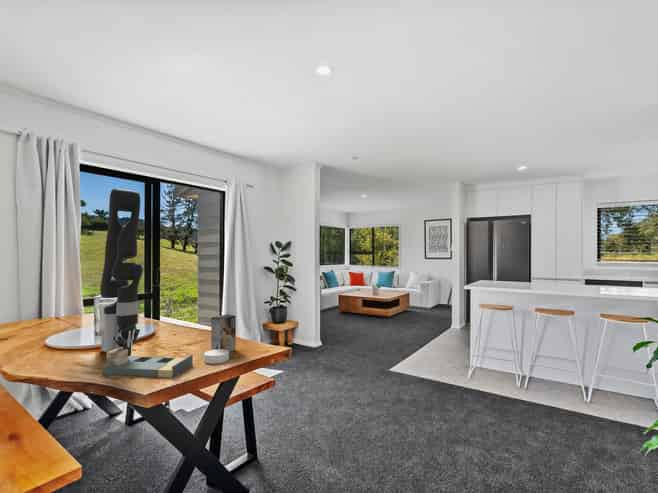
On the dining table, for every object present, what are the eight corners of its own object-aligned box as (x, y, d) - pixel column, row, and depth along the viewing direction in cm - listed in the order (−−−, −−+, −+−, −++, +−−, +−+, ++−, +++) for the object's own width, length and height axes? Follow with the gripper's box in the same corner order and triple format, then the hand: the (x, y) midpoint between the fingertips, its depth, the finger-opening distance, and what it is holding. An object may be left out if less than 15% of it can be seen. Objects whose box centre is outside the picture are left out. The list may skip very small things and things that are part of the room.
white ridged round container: (218, 355, 154) (218, 347, 154) (233, 359, 148) (233, 351, 148) (199, 361, 145) (199, 352, 145) (213, 366, 140) (214, 357, 140)
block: (106, 365, 131) (106, 352, 131) (116, 361, 136) (116, 348, 136) (118, 366, 131) (119, 352, 131) (127, 361, 136) (128, 349, 136)
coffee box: (226, 347, 164) (226, 313, 164) (236, 350, 161) (236, 315, 161) (210, 352, 157) (210, 317, 157) (220, 355, 153) (220, 318, 153)
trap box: (102, 374, 129) (102, 363, 129) (127, 361, 143) (127, 352, 143) (173, 377, 126) (173, 366, 126) (192, 364, 140) (192, 354, 140)
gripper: (129, 309, 145) (129, 350, 146) (106, 315, 132) (106, 361, 132) (146, 309, 145) (146, 351, 145) (125, 316, 131) (124, 362, 132)
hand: (127, 356), depth 139 cm, fingers closed
